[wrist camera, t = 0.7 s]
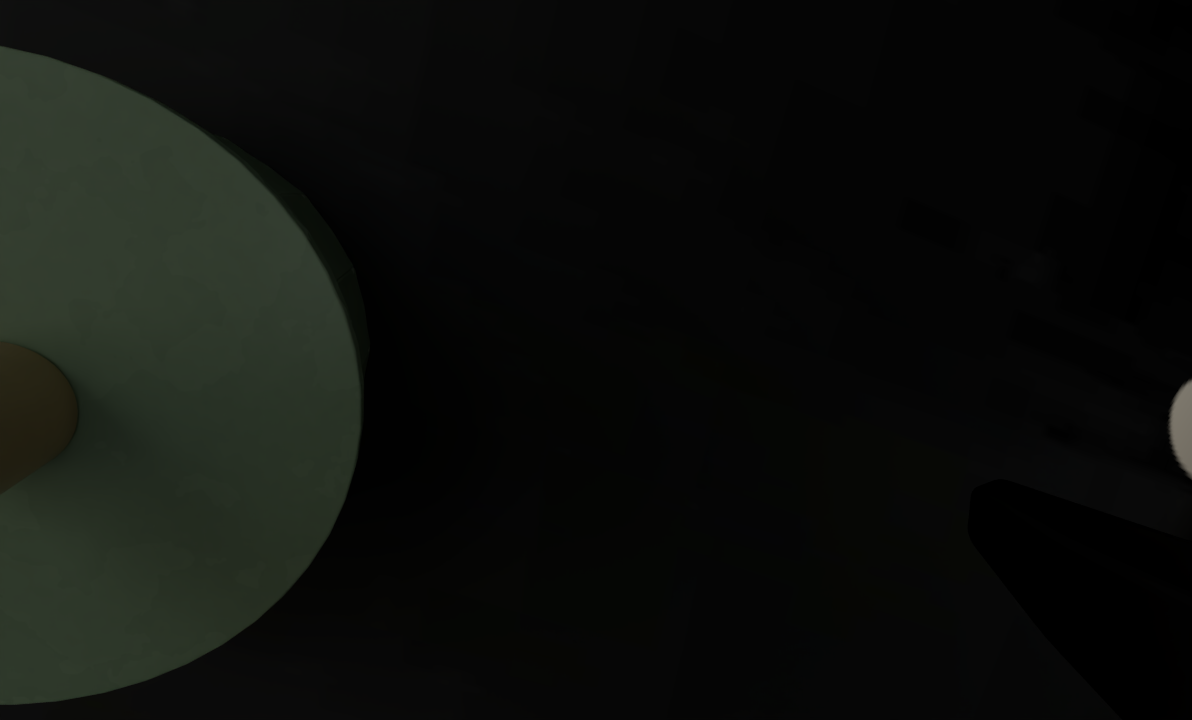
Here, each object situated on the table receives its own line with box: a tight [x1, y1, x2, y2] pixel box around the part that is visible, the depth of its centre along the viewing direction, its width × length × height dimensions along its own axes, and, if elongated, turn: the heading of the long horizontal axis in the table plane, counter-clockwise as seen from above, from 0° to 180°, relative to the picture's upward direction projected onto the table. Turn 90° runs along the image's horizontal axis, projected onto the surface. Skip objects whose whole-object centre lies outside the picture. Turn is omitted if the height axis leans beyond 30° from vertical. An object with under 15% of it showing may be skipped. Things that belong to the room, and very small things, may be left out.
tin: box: [212, 134, 370, 380], centre depth 17 cm, size 12×12×6 cm
